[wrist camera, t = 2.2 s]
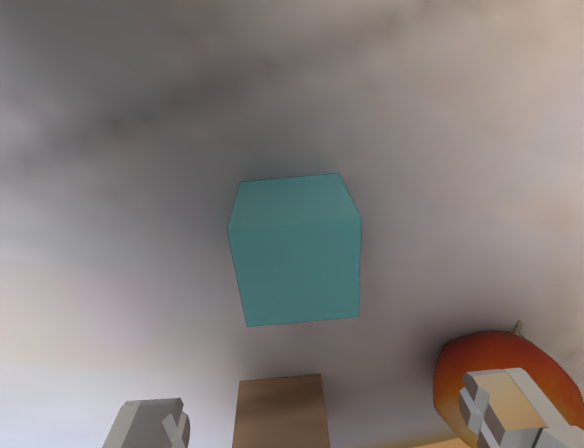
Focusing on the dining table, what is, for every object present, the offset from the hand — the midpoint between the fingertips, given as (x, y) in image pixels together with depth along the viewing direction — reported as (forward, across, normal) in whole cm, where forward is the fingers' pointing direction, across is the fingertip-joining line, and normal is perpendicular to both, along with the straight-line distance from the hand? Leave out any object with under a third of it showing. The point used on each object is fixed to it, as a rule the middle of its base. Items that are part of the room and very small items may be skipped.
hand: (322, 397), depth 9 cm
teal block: (+10, 0, -1) cm, 10 cm away
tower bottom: (+10, +2, +15) cm, 18 cm away
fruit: (+10, -12, +11) cm, 19 cm away
